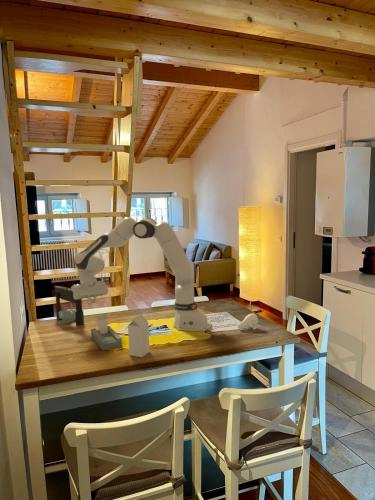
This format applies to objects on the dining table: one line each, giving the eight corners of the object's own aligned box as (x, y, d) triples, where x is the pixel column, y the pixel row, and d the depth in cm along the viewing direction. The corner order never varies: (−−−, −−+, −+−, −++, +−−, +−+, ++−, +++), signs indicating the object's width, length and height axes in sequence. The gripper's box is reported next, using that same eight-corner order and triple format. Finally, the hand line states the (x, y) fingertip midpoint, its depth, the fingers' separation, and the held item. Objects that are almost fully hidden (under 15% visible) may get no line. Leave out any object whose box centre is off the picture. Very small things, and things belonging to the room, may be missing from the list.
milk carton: (149, 352, 174) (148, 314, 171) (141, 357, 167) (140, 318, 165) (137, 349, 177) (135, 312, 174) (129, 355, 170) (127, 317, 168)
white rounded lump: (258, 314, 200) (240, 319, 196) (260, 328, 201) (241, 334, 197) (252, 311, 206) (234, 316, 202) (254, 325, 207) (236, 330, 203)
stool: (65, 282, 240) (93, 289, 218) (67, 313, 242) (95, 322, 221) (43, 287, 228) (70, 294, 206) (45, 318, 231) (72, 329, 209)
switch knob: (97, 332, 194) (96, 315, 193) (106, 330, 196) (105, 314, 195) (100, 334, 190) (99, 317, 189) (108, 332, 192) (107, 316, 191)
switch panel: (91, 336, 196) (90, 329, 196) (109, 333, 201) (108, 325, 200) (102, 350, 177) (102, 341, 177) (122, 346, 182) (121, 337, 181)
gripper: (71, 282, 207) (75, 302, 200) (105, 278, 217) (111, 297, 209) (70, 288, 211) (74, 308, 204) (104, 283, 221) (109, 302, 214)
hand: (93, 302), depth 207 cm, fingers closed
